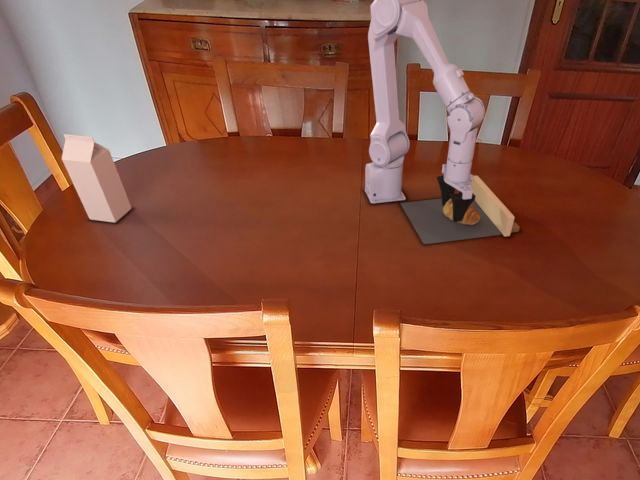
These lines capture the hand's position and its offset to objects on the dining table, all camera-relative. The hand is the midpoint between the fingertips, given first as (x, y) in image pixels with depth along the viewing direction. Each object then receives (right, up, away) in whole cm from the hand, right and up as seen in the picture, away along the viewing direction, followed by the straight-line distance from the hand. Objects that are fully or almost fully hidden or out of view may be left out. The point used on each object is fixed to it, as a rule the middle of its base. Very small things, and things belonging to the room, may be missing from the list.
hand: (451, 212), depth 115 cm
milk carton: (-85, 0, 0) cm, 85 cm away
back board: (+11, +1, +3) cm, 12 cm away
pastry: (+2, -1, +1) cm, 3 cm away
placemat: (-1, -1, +1) cm, 2 cm away
